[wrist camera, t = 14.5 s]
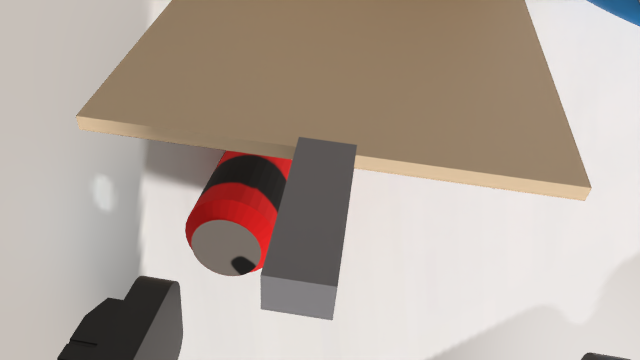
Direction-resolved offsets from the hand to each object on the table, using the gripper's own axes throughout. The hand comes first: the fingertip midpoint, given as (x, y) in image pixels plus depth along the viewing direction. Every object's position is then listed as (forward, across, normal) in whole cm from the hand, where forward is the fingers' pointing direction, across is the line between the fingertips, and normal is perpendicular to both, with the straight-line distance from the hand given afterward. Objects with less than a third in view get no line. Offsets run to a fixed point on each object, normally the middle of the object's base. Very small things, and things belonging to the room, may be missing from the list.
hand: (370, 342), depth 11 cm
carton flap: (+15, +2, 0) cm, 15 cm away
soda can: (+36, +10, +21) cm, 43 cm away
